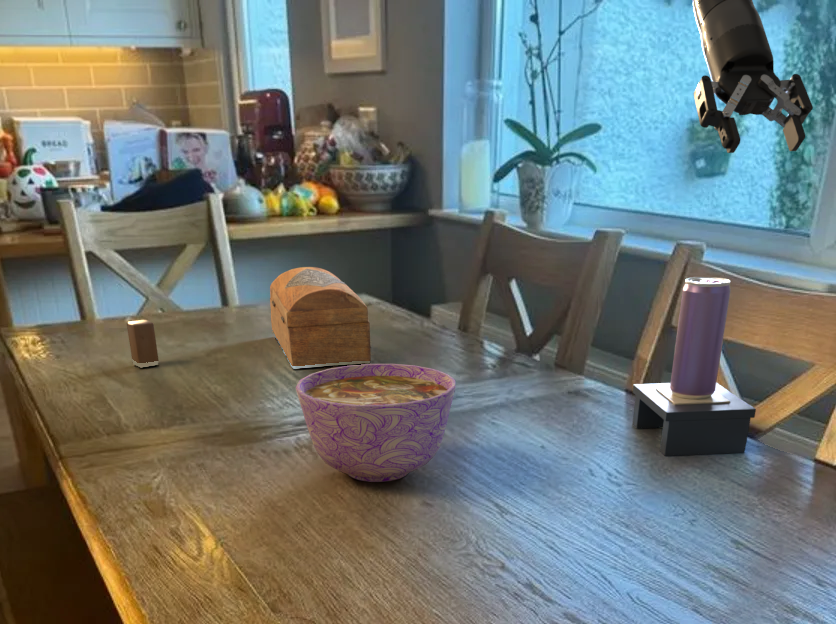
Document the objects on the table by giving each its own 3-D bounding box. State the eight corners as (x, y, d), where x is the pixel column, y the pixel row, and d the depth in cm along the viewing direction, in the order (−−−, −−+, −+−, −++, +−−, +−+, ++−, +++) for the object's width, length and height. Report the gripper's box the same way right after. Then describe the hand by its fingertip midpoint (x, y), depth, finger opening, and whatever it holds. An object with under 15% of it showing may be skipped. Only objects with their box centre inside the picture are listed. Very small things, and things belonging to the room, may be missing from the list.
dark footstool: (708, 421, 134) (714, 379, 131) (748, 452, 121) (756, 407, 118) (628, 424, 133) (633, 382, 130) (660, 456, 121) (666, 411, 118)
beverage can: (707, 402, 121) (725, 285, 114) (663, 396, 124) (678, 281, 117) (719, 391, 125) (737, 278, 118) (676, 386, 128) (691, 275, 121)
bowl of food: (300, 449, 126) (295, 366, 120) (442, 442, 127) (443, 360, 122) (302, 503, 108) (295, 409, 103) (466, 495, 110) (469, 401, 104)
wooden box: (376, 364, 167) (375, 286, 161) (288, 370, 165) (282, 291, 158) (349, 331, 193) (346, 263, 187) (271, 336, 190) (266, 267, 184)
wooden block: (139, 369, 168) (133, 325, 164) (132, 365, 171) (125, 321, 167) (160, 366, 170) (154, 322, 166) (152, 362, 173) (146, 319, 169)
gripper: (696, 22, 114) (727, 125, 110) (800, 21, 116) (834, 122, 112) (672, 72, 121) (700, 171, 117) (771, 71, 123) (802, 167, 119)
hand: (766, 147), depth 114 cm, fingers open, 8 cm apart
